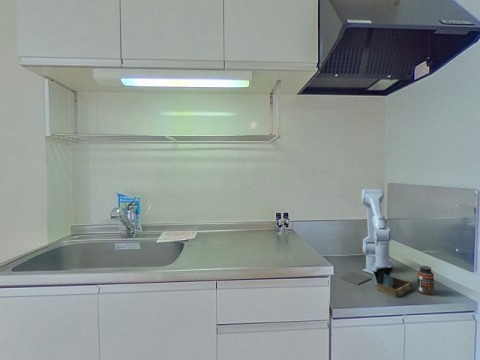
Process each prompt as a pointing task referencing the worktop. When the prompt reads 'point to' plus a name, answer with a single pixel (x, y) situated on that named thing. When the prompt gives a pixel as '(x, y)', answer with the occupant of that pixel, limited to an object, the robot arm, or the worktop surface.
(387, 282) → the block
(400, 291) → the arch frame
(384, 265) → the robot arm
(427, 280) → the supplement bottle
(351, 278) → the mat
